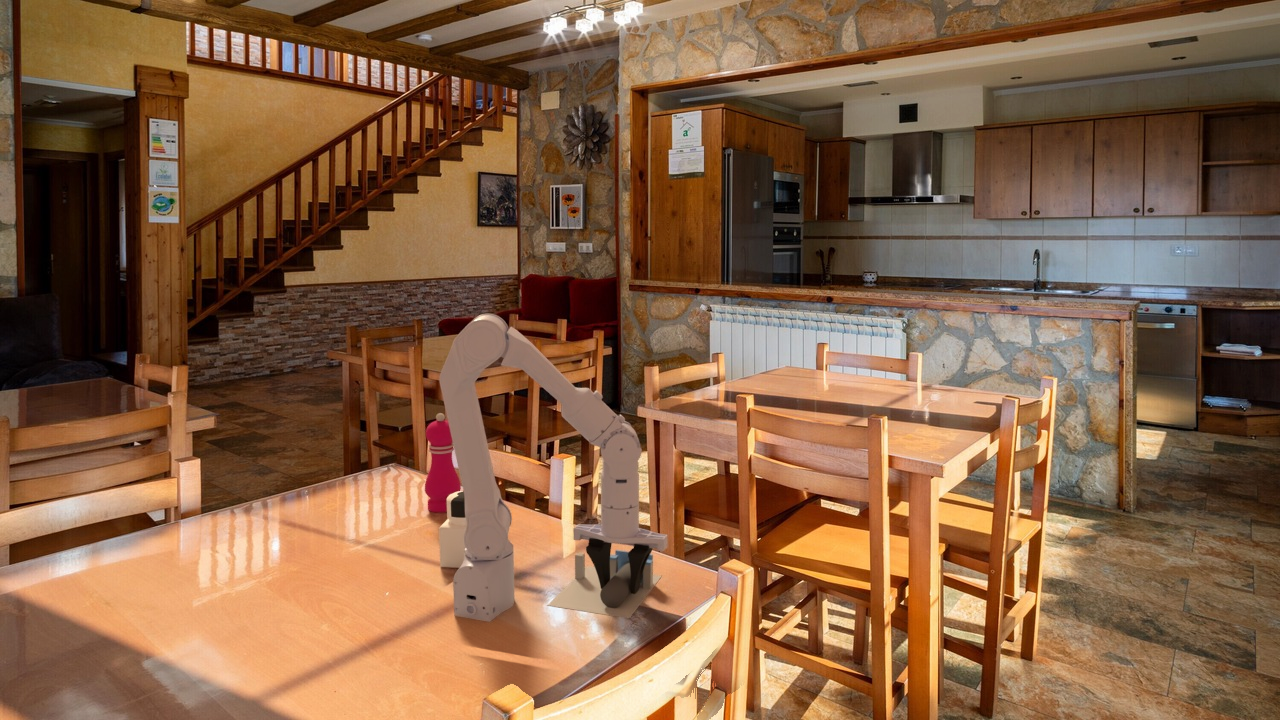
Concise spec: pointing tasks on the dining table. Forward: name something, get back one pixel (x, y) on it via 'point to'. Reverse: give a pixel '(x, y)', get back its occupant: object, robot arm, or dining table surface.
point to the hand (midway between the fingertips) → (620, 589)
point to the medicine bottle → (453, 532)
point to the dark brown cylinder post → (617, 587)
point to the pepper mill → (440, 466)
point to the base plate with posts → (587, 589)
